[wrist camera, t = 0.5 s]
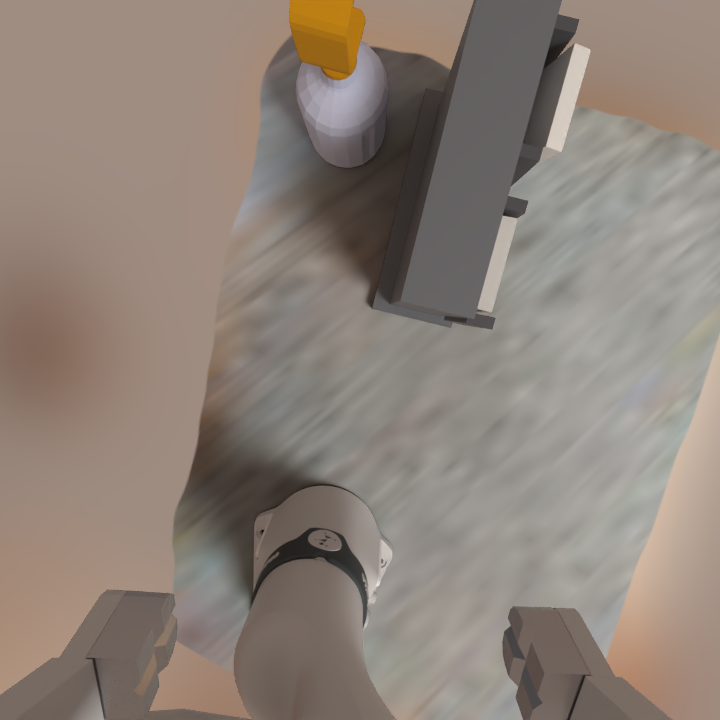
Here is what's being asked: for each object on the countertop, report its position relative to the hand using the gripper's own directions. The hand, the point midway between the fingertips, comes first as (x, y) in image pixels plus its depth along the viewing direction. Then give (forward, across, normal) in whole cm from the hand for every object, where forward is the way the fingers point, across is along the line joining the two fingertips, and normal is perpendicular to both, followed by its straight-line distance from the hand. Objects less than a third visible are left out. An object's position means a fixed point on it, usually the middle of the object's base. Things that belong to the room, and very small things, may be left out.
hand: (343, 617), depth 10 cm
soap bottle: (+50, -2, +18) cm, 53 cm away
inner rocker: (+38, +15, +3) cm, 41 cm away
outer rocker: (+41, +15, +17) cm, 47 cm away
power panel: (+47, +10, +10) cm, 49 cm away
